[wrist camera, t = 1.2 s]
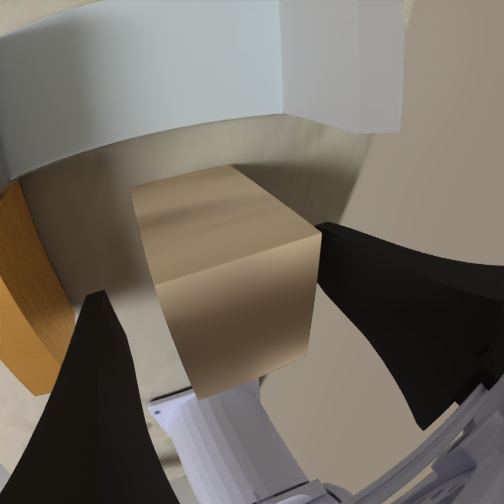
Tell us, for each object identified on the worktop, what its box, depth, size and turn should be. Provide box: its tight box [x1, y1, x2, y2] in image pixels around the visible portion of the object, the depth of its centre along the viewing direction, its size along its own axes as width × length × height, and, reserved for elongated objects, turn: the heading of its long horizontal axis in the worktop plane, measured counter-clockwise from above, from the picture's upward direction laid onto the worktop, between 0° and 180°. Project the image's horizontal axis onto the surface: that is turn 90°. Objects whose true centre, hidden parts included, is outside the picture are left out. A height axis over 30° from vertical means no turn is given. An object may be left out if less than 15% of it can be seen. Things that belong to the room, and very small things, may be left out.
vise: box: [0, 0, 404, 179], centre depth 6 cm, size 5×14×5 cm, turn 92°
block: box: [130, 165, 322, 401], centre depth 10 cm, size 5×4×6 cm
